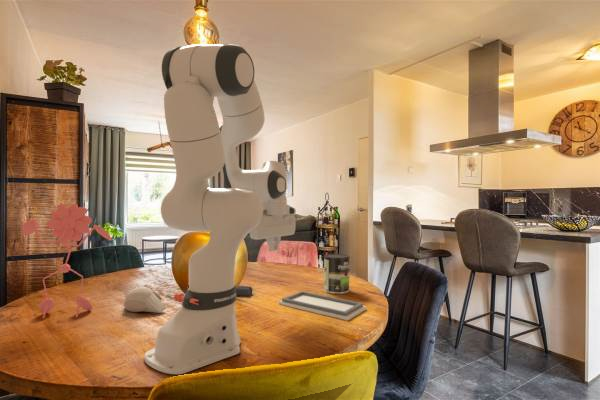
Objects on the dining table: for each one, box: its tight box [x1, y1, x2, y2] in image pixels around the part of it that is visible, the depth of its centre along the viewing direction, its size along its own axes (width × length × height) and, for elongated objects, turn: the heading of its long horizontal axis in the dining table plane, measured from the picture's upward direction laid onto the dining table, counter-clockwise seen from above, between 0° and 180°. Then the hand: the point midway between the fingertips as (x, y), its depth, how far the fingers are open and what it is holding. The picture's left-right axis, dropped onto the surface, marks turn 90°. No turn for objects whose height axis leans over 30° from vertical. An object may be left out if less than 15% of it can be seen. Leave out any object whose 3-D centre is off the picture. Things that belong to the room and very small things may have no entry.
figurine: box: [21, 203, 112, 319], centre depth 107 cm, size 15×26×35 cm, turn 100°
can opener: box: [236, 285, 253, 297], centre depth 128 cm, size 19×6×5 cm
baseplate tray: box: [278, 290, 367, 322], centre depth 114 cm, size 13×27×2 cm, turn 54°
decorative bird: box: [123, 286, 167, 314], centre depth 108 cm, size 9×16×8 cm, turn 58°
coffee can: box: [323, 253, 350, 295], centre depth 134 cm, size 10×10×14 cm
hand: (273, 250), depth 113 cm, fingers closed
